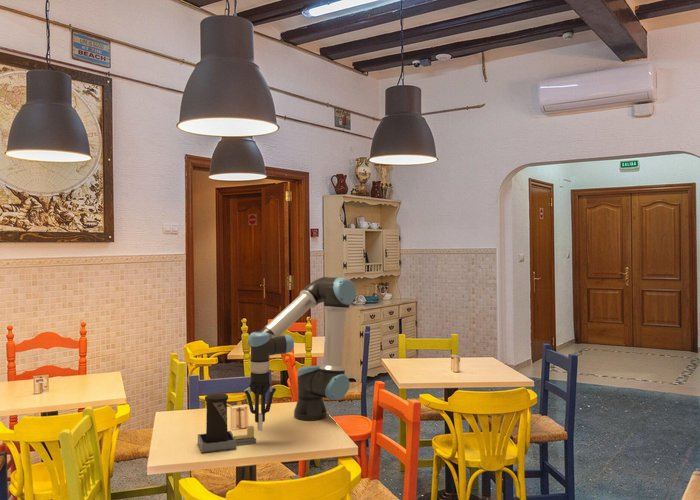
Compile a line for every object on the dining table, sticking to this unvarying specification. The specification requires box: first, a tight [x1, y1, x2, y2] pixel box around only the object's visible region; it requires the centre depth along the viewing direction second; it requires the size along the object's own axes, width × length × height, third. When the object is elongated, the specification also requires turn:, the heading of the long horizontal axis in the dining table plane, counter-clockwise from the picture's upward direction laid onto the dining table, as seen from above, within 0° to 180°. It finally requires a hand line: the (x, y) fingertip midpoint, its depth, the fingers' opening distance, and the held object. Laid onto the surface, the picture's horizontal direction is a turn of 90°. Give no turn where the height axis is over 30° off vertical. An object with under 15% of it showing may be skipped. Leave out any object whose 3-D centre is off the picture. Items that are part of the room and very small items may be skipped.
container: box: [204, 392, 229, 443], centre depth 242 cm, size 9×9×20 cm
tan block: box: [233, 425, 255, 440], centre depth 246 cm, size 8×2×5 cm, turn 111°
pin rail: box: [236, 437, 257, 447], centre depth 246 cm, size 8×4×2 cm, turn 111°
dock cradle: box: [197, 430, 237, 454], centre depth 242 cm, size 13×13×4 cm
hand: (259, 430), depth 248 cm, fingers closed
